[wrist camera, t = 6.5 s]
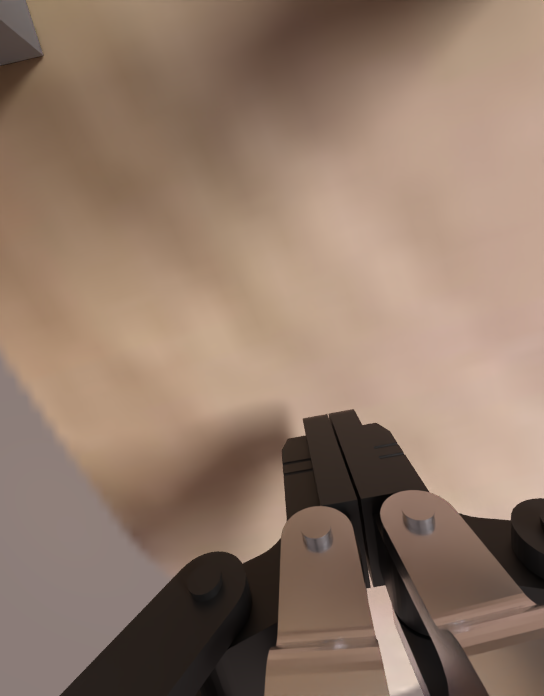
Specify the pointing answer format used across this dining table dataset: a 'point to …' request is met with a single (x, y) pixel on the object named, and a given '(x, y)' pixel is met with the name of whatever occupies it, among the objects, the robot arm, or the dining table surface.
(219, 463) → the dining table surface
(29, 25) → the bridge
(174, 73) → the dining table surface
